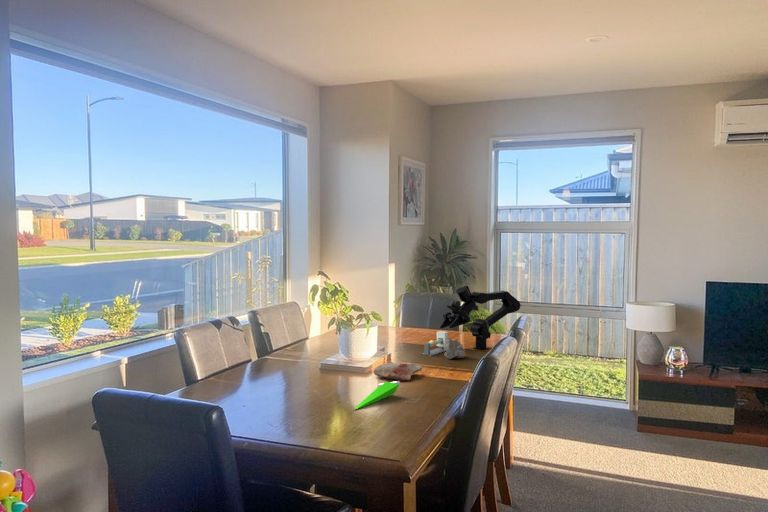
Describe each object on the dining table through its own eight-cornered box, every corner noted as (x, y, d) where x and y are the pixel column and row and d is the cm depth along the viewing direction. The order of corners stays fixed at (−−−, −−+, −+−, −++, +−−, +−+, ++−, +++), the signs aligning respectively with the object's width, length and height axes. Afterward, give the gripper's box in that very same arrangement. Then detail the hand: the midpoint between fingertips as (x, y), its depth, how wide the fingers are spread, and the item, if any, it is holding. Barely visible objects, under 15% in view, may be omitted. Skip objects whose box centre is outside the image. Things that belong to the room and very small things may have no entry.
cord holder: (441, 347, 297) (441, 335, 297) (451, 349, 294) (451, 336, 293) (421, 354, 282) (421, 341, 282) (431, 356, 279) (431, 342, 278)
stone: (417, 389, 233) (421, 376, 247) (419, 375, 231) (423, 363, 246) (370, 380, 235) (376, 368, 250) (372, 366, 234) (378, 354, 249)
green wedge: (365, 420, 194) (404, 391, 214) (360, 406, 194) (399, 378, 214) (342, 423, 201) (381, 395, 221) (337, 409, 200) (377, 382, 221)
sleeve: (439, 344, 295) (439, 330, 294) (447, 346, 292) (448, 332, 291) (436, 345, 292) (436, 331, 292) (444, 347, 289) (445, 332, 289)
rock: (465, 364, 275) (465, 346, 281) (461, 353, 266) (461, 334, 272) (447, 365, 277) (447, 347, 283) (442, 354, 268) (442, 335, 274)
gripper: (447, 297, 296) (427, 315, 290) (466, 294, 280) (445, 314, 273) (459, 314, 298) (439, 333, 292) (479, 312, 281) (458, 332, 275)
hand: (445, 327), depth 283 cm, fingers open, 9 cm apart
